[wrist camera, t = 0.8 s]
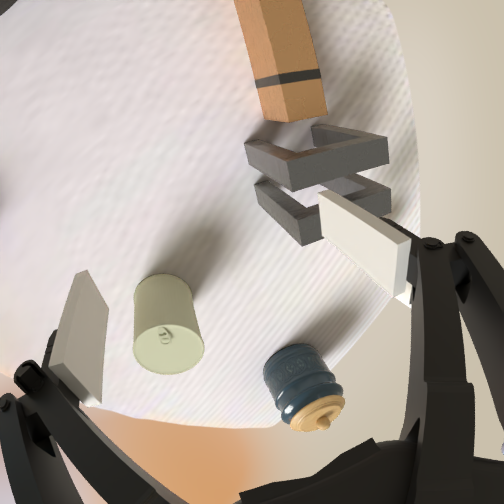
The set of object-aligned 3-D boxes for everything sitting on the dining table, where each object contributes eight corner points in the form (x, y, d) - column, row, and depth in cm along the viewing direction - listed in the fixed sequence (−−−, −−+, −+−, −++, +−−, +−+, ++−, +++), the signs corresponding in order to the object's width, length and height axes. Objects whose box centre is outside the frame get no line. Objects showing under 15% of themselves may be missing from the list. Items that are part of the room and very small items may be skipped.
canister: (323, 336, 60) (367, 398, 45) (310, 376, 66) (345, 434, 51) (264, 348, 56) (301, 420, 41) (258, 388, 62) (287, 453, 47)
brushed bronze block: (223, -35, 25) (239, -61, 18) (259, -37, 26) (281, -61, 19) (264, 119, 37) (288, 122, 30) (298, 111, 38) (328, 114, 31)
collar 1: (243, 143, 38) (286, 161, 26) (322, 124, 40) (387, 137, 28) (249, 164, 39) (292, 192, 27) (325, 143, 41) (389, 163, 29)
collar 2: (254, 184, 41) (300, 222, 28) (328, 162, 43) (394, 190, 30) (258, 204, 42) (304, 249, 30) (331, 181, 44) (394, 214, 32)
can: (186, 267, 43) (198, 319, 33) (196, 315, 48) (211, 369, 38) (126, 280, 41) (122, 334, 31) (142, 326, 46) (145, 383, 36)
